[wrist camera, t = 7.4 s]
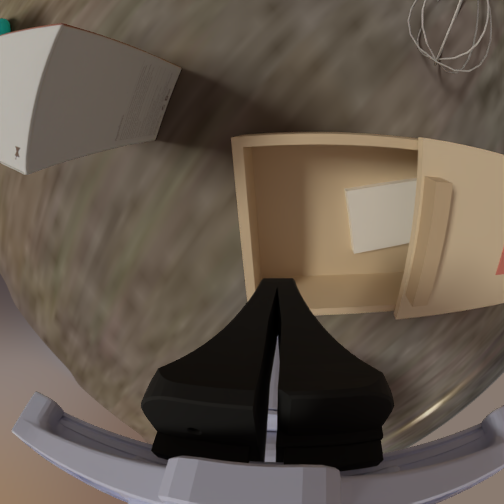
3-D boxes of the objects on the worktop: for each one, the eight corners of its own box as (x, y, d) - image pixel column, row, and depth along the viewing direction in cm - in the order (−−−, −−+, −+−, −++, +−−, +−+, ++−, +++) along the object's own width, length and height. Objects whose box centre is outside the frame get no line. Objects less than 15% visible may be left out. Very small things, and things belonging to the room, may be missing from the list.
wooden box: (441, 271, 21) (465, 302, 17) (255, 279, 23) (249, 316, 19) (459, 145, 16) (496, 155, 11) (243, 134, 18) (230, 137, 14)
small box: (184, 67, 16) (64, 20, 5) (156, 142, 19) (26, 181, 7) (105, 53, 15) (-17, 38, 4) (84, 120, 18) (-39, 146, 7)
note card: (426, 234, 19) (430, 238, 18) (351, 249, 21) (354, 253, 20) (425, 176, 17) (430, 178, 16) (344, 188, 19) (346, 191, 18)
